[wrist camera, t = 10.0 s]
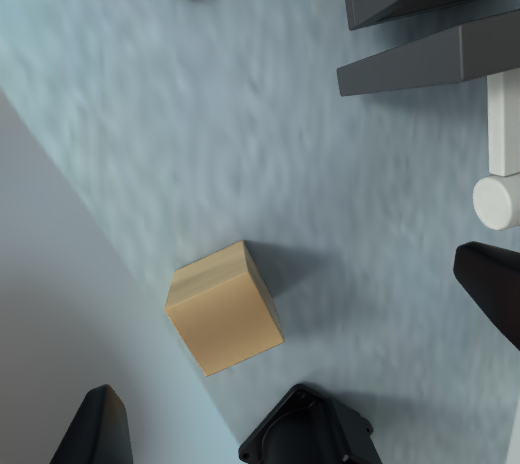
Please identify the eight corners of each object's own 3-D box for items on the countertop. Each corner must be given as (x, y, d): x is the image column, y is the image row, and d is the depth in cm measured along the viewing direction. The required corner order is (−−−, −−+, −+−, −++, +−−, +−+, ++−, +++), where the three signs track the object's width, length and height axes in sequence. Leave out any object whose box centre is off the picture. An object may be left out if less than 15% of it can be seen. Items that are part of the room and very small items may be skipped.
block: (273, 299, 20) (285, 342, 17) (208, 328, 21) (206, 377, 17) (242, 239, 19) (248, 270, 15) (174, 271, 19) (163, 309, 15)
